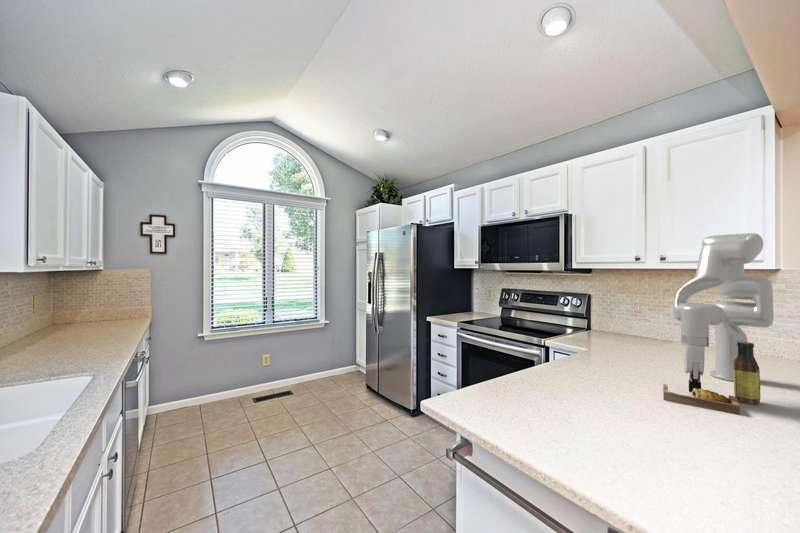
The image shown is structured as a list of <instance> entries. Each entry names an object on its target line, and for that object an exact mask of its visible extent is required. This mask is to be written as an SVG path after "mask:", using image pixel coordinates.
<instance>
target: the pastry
mask: <svg viewBox="0 0 800 533" xmlns="http://www.w3.org/2000/svg"><path fill="white" fill-rule="evenodd" d="M691 397H696V398H702V399H707V400H713V401H718V402H724V403H729V404H730V401H729V397H727V396H725V395H724V394H719V393H718V392H715V391H712V390H710V389H703V388H701V389H697V388H693V391H692V393H691Z"/></svg>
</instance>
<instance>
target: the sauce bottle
mask: <svg viewBox="0 0 800 533" xmlns="http://www.w3.org/2000/svg"><path fill="white" fill-rule="evenodd" d="M737 346H738V356H737V357H736V358H735V360H734V369H733V372H734V381H733V396H734V397H735V399H736V401H737V402H740V403H744V404H747V405H759V404H760V403H761V375H760V374H761V373H760V370H761V369H760V366H759V364H758V362H757V360H756V358H755V355H754V348H755V344H754V343H753V342H749V341H747V342H737Z"/></svg>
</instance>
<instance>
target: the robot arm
mask: <svg viewBox="0 0 800 533" xmlns="http://www.w3.org/2000/svg"><path fill="white" fill-rule="evenodd" d="M701 245H702V246H701V248H700V253H699V257H698V262H697V267H696V271H695V275H694V277H693V278H692V279H690V280H689V281H687V282H686V283H685V284H683V285H682V286H681V287H680V288H679V290H678V291H677V293H676V294H675V298H674V302H673V307H672V315H673V318H674V319H675V320H676V321H677V322H680V344H682V345H684V347H683V348H684V353H683V357H684V358H683V361H684V362H683V363H684V364H683V365H684V366H683V368H684V370H683V371H684V373H685V374H689V379H688V392H689V393H691V394H692V391H693V388H697V389H702V382H701V377H702V376H704V371H705V355H706V353H705V352H706V351H705V348H708V347H710V326H714V342H715V343H714V349H715V350H714V370H710V371H709V375H710V376H712V377H714V378H717V379H721V380H723V381H724V380H725V381H729V382H730V381H731V382H734V372H733V369H734V360H735V358H736V357H737V356H738V346H737V342H748V337H747V334H746V332H744V330H743V329H742V327H751V328H765V329H767V328H769V327H771V326H772V325H773V323H774V318H775V317H774V316H775V315H774V290H773V283H772V282H771V280H770V279H769V278H768V277H766V276H762V275H746V274H745V264H749V263H752V262H753V261H754V260H756V258H757V257H758V256H759V255H760V254H761V253H762V251H763V248H764V240H763V237H762V236H761V235H760V234H758V233H752V232H750V233H749V232H748V233H734V234H732V233H731V234H715V235H709V236H706V237H705V238H703V239H702V241H701ZM713 288H716V294H717V295H718V296H719V297H721V298H724V299H725V298H726V299H732V300H733V299H735V300H750V301H751V300H752V301H754V302H745V301H732V300H731V301H730V300H727V301H726V300H722V301H718V302H716V303H714V304H711V303H700V302H688V300H689V298H690V297H693V295H695V294H697V293H700V292H702V291H706V290H709V289H713ZM741 326H742V327H741Z"/></svg>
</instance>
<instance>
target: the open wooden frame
mask: <svg viewBox="0 0 800 533" xmlns="http://www.w3.org/2000/svg"><path fill="white" fill-rule="evenodd" d="M662 386H663V387H662V388H663V390H662V391H663V395H662V396H663V397H662V398H663V401H667V402H672V403H678V404H682V405H686V406H688V405H689V406H693V407H698V408H703V409H709V410H713V411H719V412H724V413H728V412H729V413H730V414H733V415H741V406H740V405H739V401H738V400H736V399H735V395H732V394H731V395H730V394H729V395H728V399H729V401H730V404H729V403H724V402H718V401H713V400H707V399H702V398H696V397H692V395H691V396H690V395H685V394H680V393H674V392H669V389H668V388H669V387H668V384H666V383H663V385H662ZM729 413H728V414H729Z"/></svg>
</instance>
